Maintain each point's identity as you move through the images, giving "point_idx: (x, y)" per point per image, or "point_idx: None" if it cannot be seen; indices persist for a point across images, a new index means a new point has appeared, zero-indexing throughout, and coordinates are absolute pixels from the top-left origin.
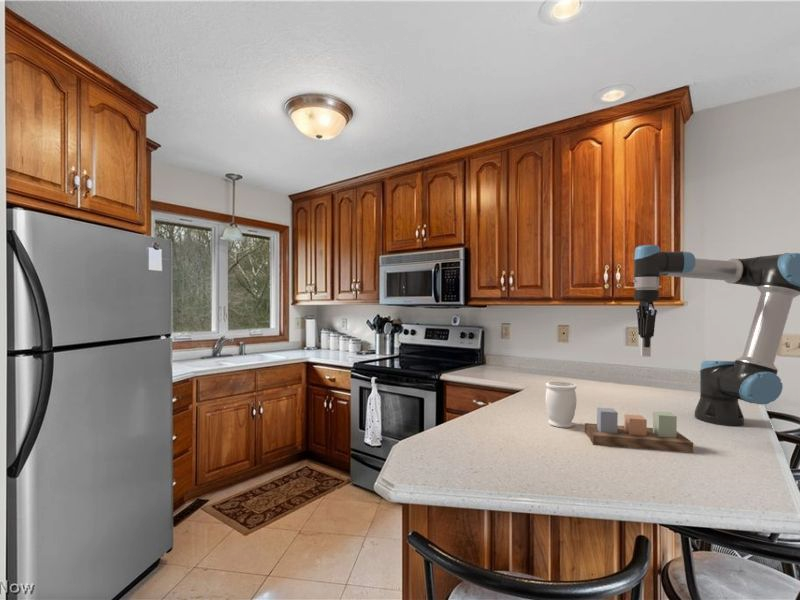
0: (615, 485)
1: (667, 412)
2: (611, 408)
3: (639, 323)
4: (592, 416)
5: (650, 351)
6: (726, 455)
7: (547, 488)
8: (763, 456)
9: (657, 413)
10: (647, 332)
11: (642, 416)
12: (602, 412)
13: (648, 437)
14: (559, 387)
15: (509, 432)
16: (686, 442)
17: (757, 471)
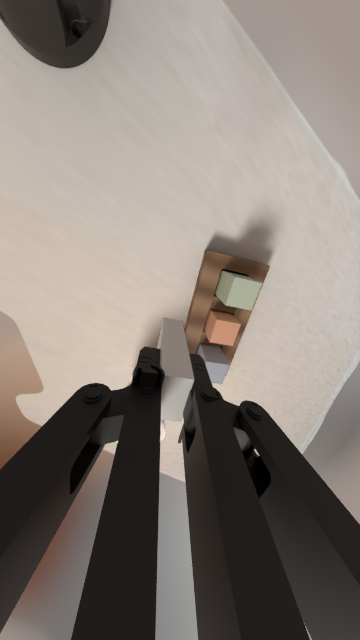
0: (313, 386)
1: (236, 283)
2: (206, 363)
3: (13, 599)
4: (91, 323)
5: (184, 332)
6: (279, 218)
7: (304, 426)
8: (295, 148)
9: (240, 306)
10: (263, 467)
11: (223, 321)
12: (222, 381)
13: (240, 316)
14: (162, 437)
15: (180, 430)
16: (266, 274)
17: (332, 222)
